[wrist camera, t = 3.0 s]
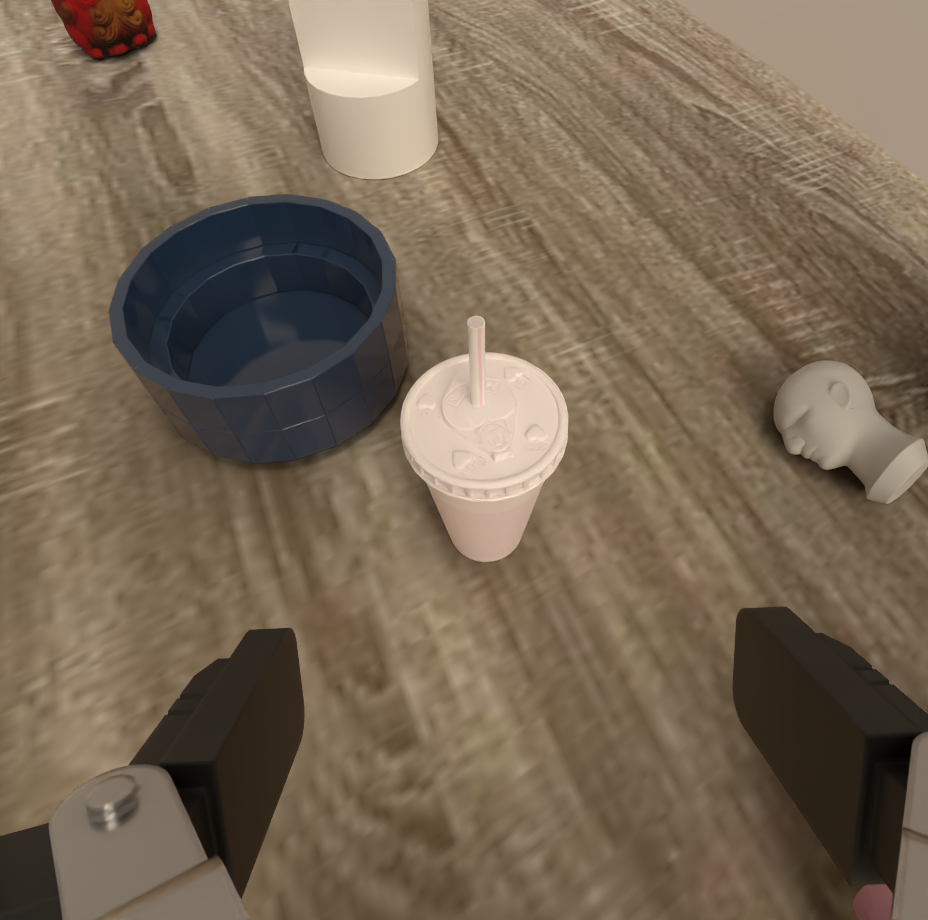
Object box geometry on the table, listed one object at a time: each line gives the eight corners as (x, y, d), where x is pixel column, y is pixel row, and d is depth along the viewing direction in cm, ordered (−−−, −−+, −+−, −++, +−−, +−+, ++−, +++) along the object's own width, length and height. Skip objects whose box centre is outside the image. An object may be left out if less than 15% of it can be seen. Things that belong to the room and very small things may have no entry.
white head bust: (745, 417, 36) (830, 375, 36) (835, 536, 32) (933, 490, 32) (749, 377, 33) (844, 329, 32) (851, 505, 28) (962, 452, 28)
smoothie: (518, 457, 34) (533, 244, 22) (572, 560, 31) (622, 377, 19) (405, 496, 33) (357, 295, 21) (448, 608, 30) (419, 445, 18)
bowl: (276, 254, 43) (245, 166, 38) (455, 334, 39) (449, 248, 33) (114, 401, 37) (48, 321, 32) (304, 515, 33) (267, 446, 27)
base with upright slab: (451, 118, 51) (442, -66, 41) (418, 186, 47) (398, -1, 36) (346, 105, 53) (312, -75, 42) (304, 170, 48) (254, -14, 38)
